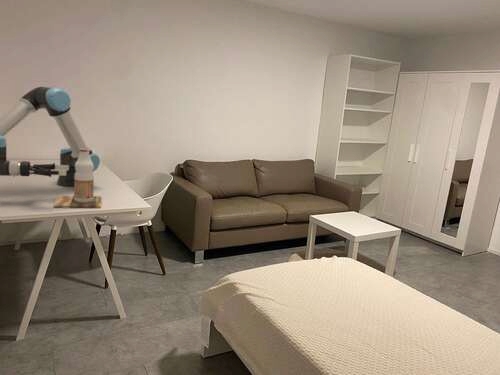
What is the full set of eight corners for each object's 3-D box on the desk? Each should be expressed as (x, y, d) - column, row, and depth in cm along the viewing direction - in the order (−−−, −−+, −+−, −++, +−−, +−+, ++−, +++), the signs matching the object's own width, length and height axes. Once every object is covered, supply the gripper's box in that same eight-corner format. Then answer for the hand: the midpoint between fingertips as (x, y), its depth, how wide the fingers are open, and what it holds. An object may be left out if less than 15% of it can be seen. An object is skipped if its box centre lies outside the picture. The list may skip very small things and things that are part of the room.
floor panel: (53, 208, 189) (53, 205, 189) (58, 197, 208) (58, 195, 207) (100, 208, 197) (100, 205, 197) (101, 198, 216) (101, 196, 215)
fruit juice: (78, 203, 197) (78, 150, 191) (71, 199, 203) (71, 147, 197) (96, 202, 203) (97, 150, 197) (89, 197, 210) (90, 147, 204)
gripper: (25, 171, 201) (69, 172, 209) (15, 181, 179) (65, 182, 186) (25, 157, 200) (69, 159, 207) (14, 165, 177) (65, 167, 185)
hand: (67, 170), depth 197 cm, fingers open, 13 cm apart
